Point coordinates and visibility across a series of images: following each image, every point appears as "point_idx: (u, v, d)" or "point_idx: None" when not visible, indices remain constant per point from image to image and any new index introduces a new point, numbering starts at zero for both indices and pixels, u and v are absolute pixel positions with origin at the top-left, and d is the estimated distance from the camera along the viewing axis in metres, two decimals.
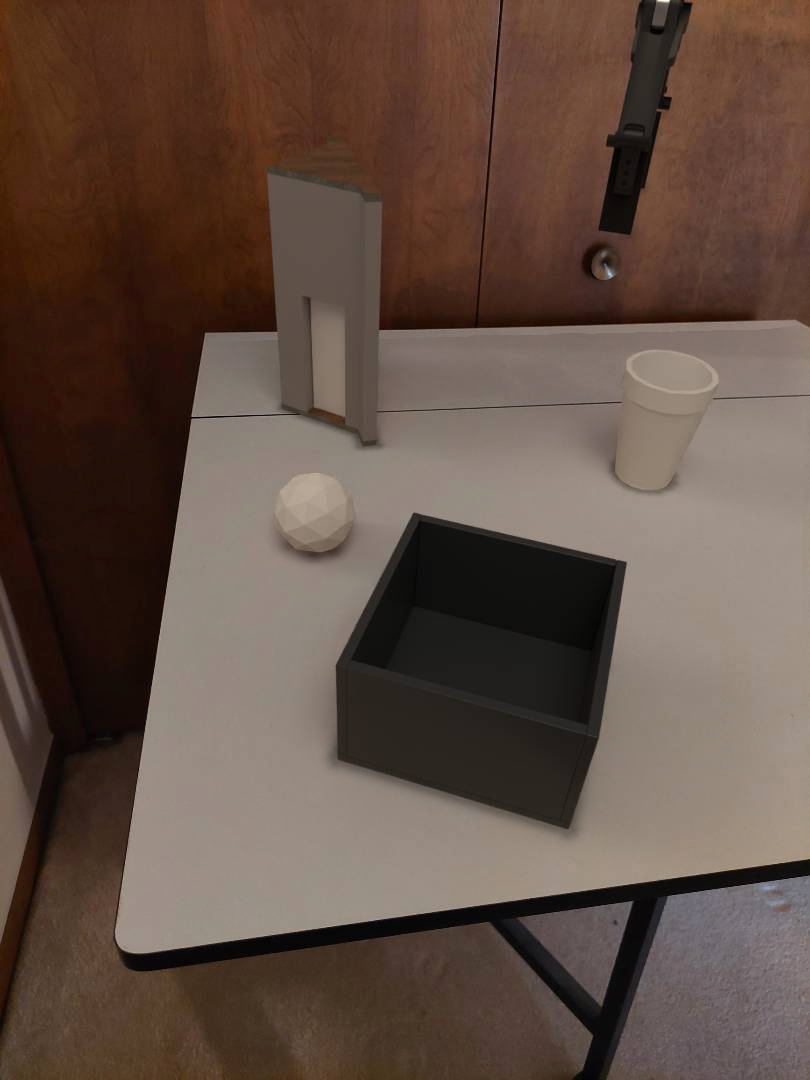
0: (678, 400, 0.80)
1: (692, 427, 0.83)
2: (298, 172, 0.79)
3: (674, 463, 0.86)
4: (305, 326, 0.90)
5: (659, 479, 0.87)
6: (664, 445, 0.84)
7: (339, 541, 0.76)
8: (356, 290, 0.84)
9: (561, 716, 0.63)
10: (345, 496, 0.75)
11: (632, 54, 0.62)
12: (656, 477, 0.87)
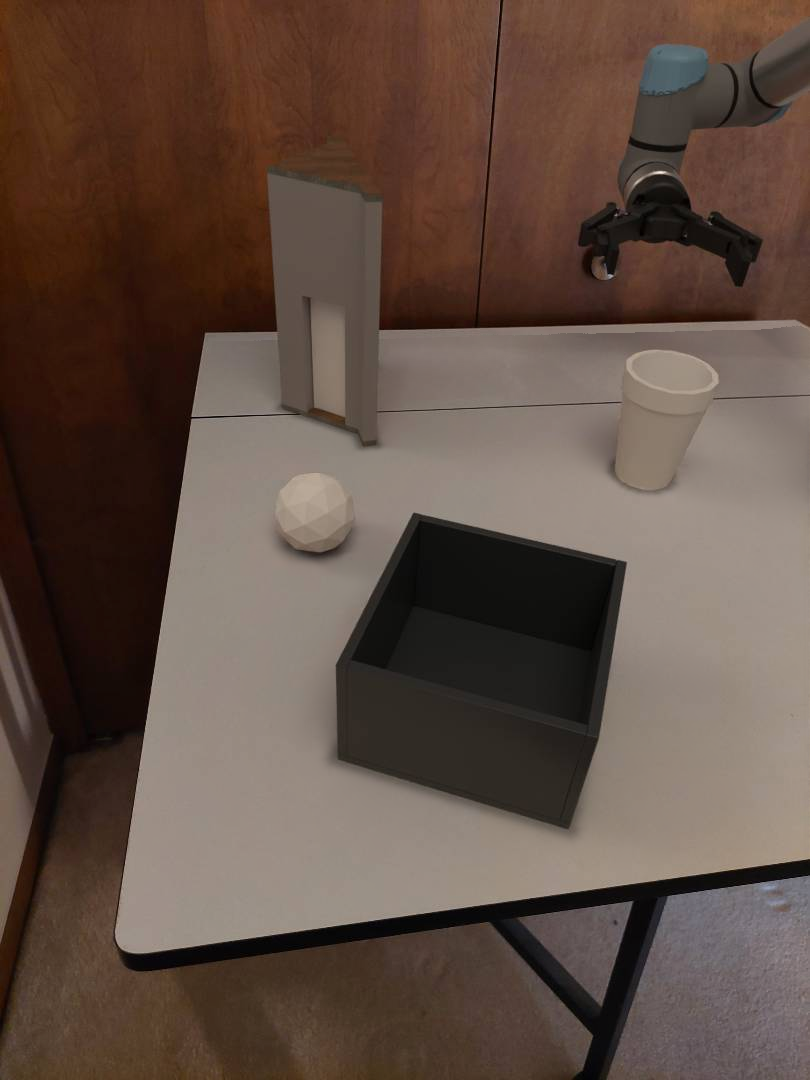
0: (678, 400, 0.80)
1: (692, 427, 0.83)
2: (298, 172, 0.79)
3: (674, 463, 0.86)
4: (305, 326, 0.90)
5: (659, 479, 0.87)
6: (664, 445, 0.84)
7: (339, 541, 0.76)
8: (356, 290, 0.84)
9: (561, 716, 0.63)
10: (345, 496, 0.75)
11: None
12: (656, 477, 0.87)
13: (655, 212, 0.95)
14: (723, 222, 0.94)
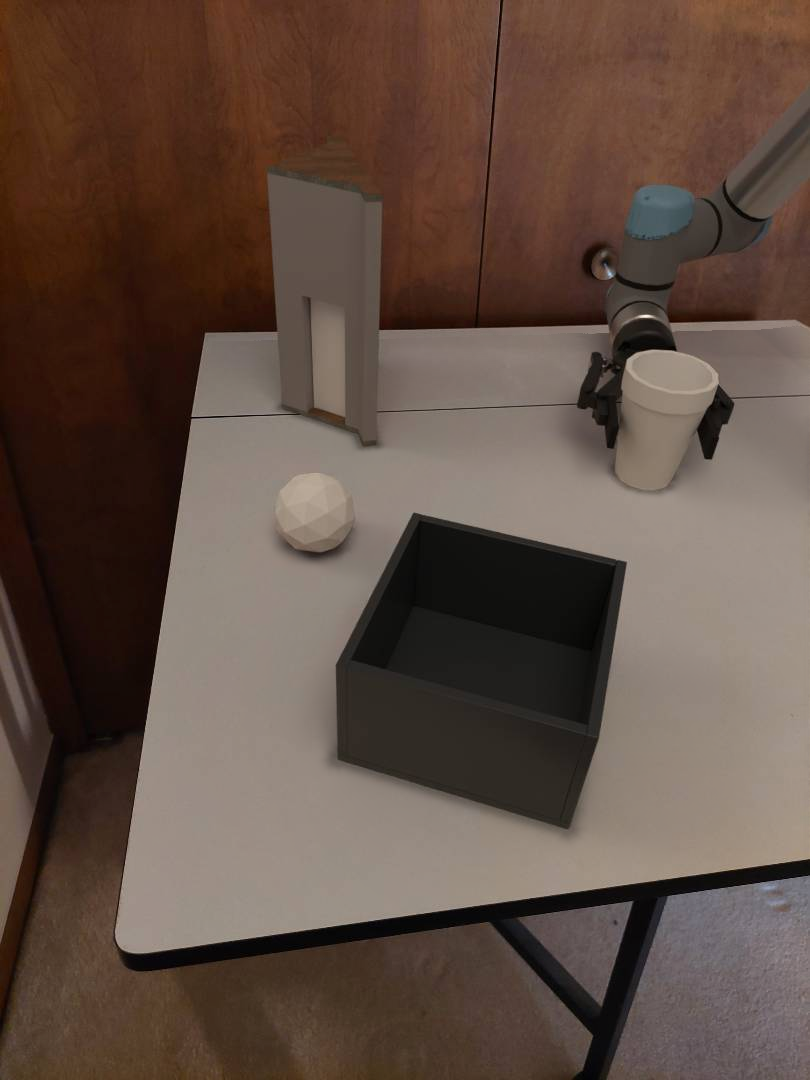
0: (678, 400, 0.80)
1: (692, 427, 0.83)
2: (298, 172, 0.79)
3: (674, 463, 0.86)
4: (305, 326, 0.90)
5: (659, 479, 0.87)
6: (664, 445, 0.84)
7: (339, 541, 0.76)
8: (356, 290, 0.84)
9: (561, 716, 0.63)
10: (345, 496, 0.75)
11: None
12: (656, 477, 0.87)
13: None
14: None
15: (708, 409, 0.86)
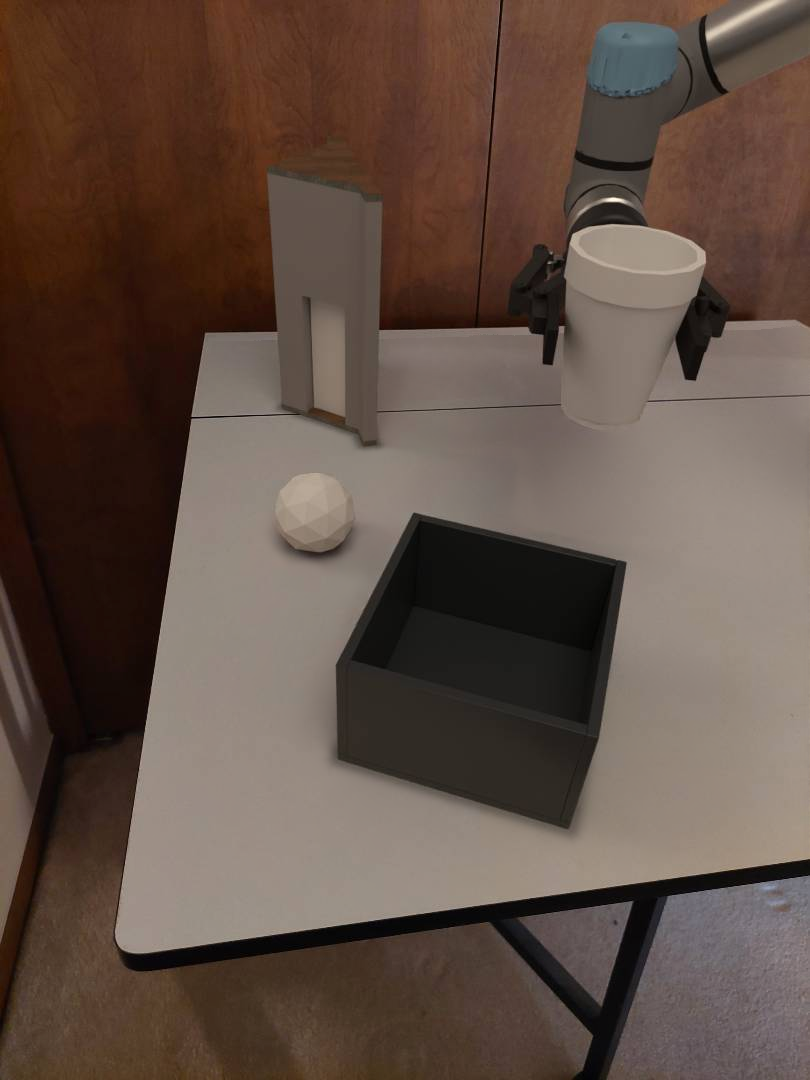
0: (644, 285, 0.53)
1: (667, 332, 0.56)
2: (298, 172, 0.79)
3: (643, 389, 0.60)
4: (305, 326, 0.90)
5: (621, 413, 0.61)
6: (626, 359, 0.57)
7: (339, 541, 0.76)
8: (356, 290, 0.84)
9: (561, 716, 0.63)
10: (345, 496, 0.75)
11: None
12: (617, 410, 0.61)
13: None
14: None
15: (692, 311, 0.59)
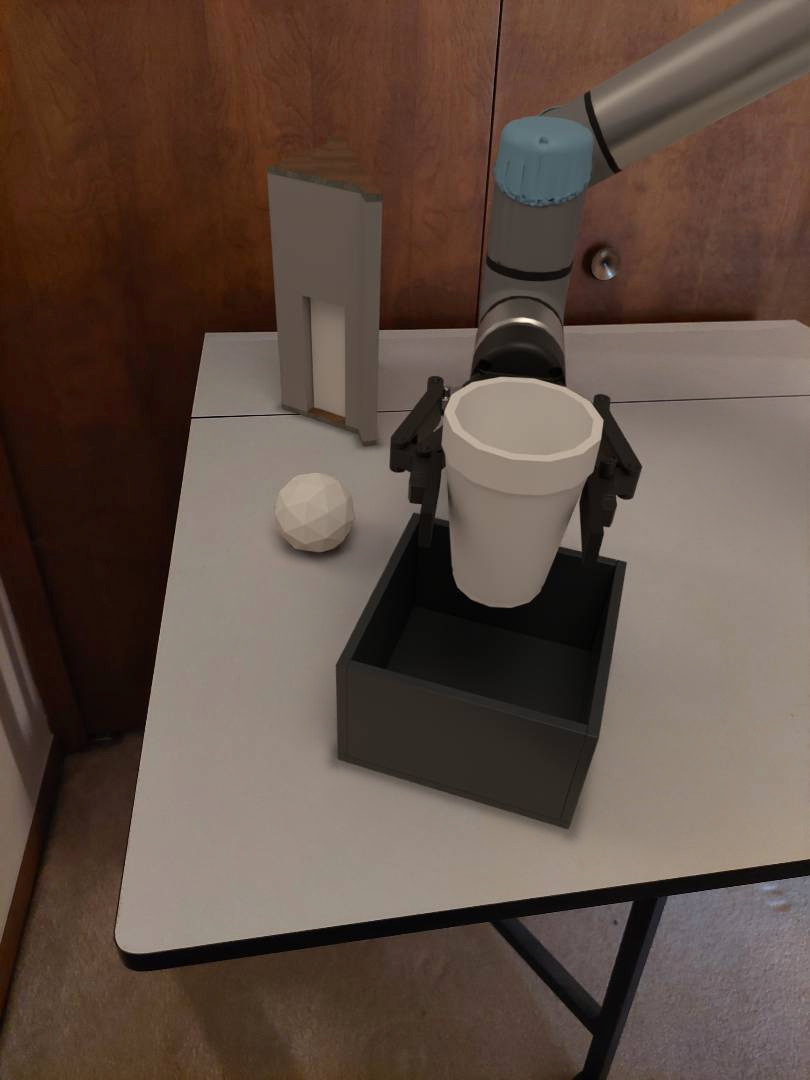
0: (525, 471, 0.45)
1: (560, 513, 0.48)
2: (298, 172, 0.79)
3: (539, 567, 0.51)
4: (305, 326, 0.90)
5: (516, 592, 0.53)
6: (514, 542, 0.49)
7: (339, 541, 0.76)
8: (356, 290, 0.84)
9: (561, 716, 0.63)
10: (345, 496, 0.75)
11: None
12: (510, 589, 0.52)
13: None
14: None
15: (595, 478, 0.51)
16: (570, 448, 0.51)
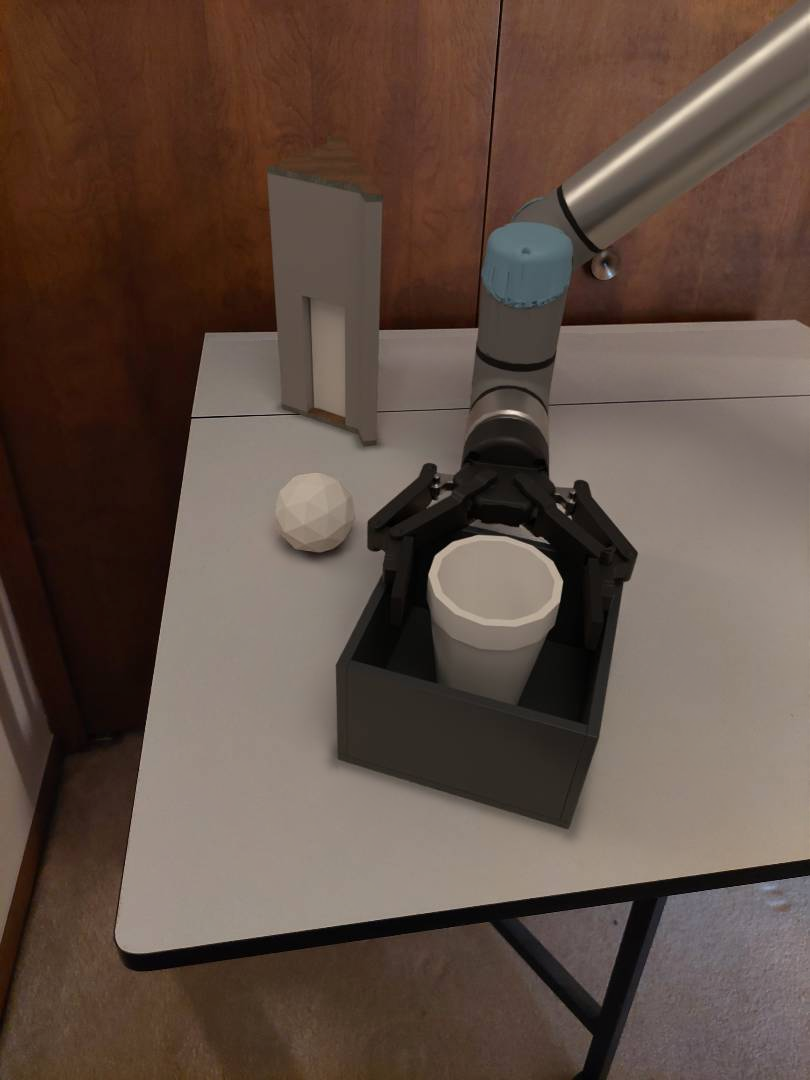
0: (495, 633, 0.53)
1: (527, 659, 0.57)
2: (298, 172, 0.79)
3: (511, 697, 0.60)
4: (305, 326, 0.90)
5: None
6: (488, 682, 0.57)
7: (339, 541, 0.76)
8: (356, 290, 0.84)
9: (561, 716, 0.63)
10: (345, 496, 0.75)
11: None
12: None
13: (490, 486, 0.64)
14: (587, 508, 0.63)
15: (596, 566, 0.57)
16: (537, 597, 0.59)
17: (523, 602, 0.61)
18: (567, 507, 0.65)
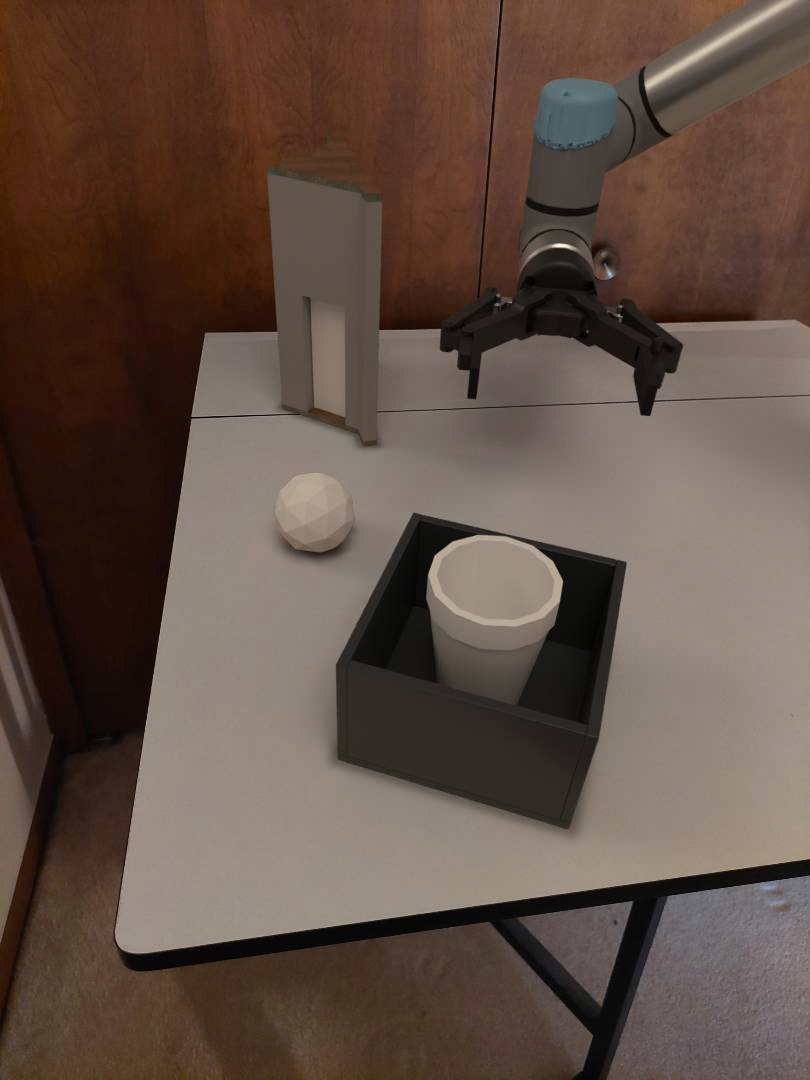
0: (495, 633, 0.53)
1: (527, 659, 0.57)
2: (298, 172, 0.79)
3: (511, 697, 0.60)
4: (305, 326, 0.90)
5: None
6: (488, 681, 0.57)
7: (339, 541, 0.76)
8: (356, 290, 0.84)
9: (561, 716, 0.63)
10: (345, 496, 0.75)
11: None
12: None
13: (546, 302, 0.72)
14: (634, 316, 0.71)
15: (647, 351, 0.65)
16: (537, 597, 0.59)
17: (522, 602, 0.61)
18: None
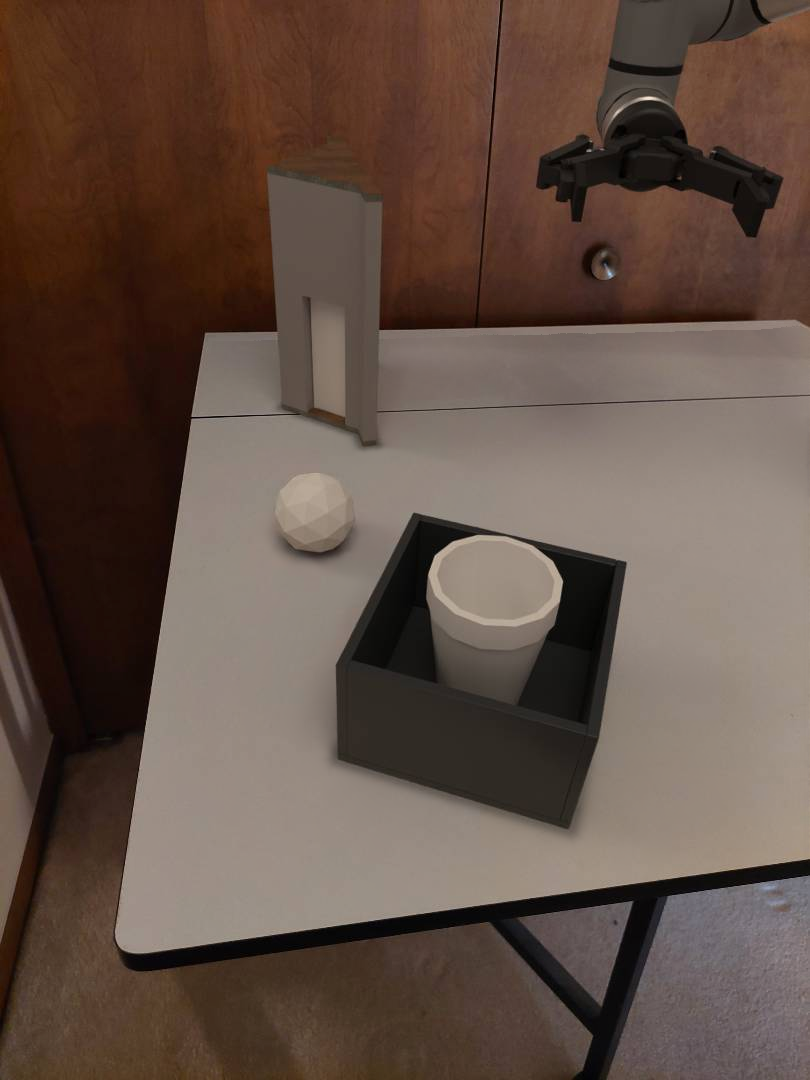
0: (495, 633, 0.53)
1: (527, 659, 0.57)
2: (298, 172, 0.79)
3: (511, 697, 0.60)
4: (305, 326, 0.90)
5: None
6: (488, 681, 0.57)
7: (339, 541, 0.76)
8: (356, 290, 0.84)
9: (561, 716, 0.63)
10: (345, 496, 0.75)
11: None
12: None
13: (640, 146, 0.72)
14: (730, 158, 0.71)
15: (750, 179, 0.65)
16: (537, 597, 0.59)
17: (522, 602, 0.61)
18: None
